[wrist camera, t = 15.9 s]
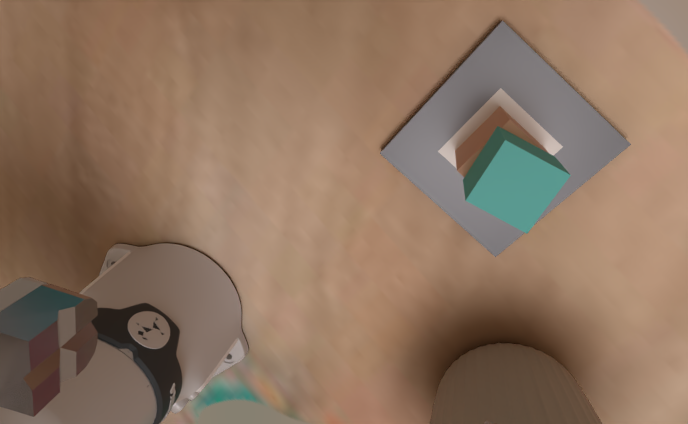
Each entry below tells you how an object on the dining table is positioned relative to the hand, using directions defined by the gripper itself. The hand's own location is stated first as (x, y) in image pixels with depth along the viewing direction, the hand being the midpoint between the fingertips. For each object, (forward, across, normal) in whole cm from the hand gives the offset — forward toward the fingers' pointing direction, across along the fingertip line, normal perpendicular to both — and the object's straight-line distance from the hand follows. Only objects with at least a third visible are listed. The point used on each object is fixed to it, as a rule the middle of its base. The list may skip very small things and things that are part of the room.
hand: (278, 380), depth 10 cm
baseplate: (+34, -8, +1) cm, 35 cm away
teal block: (+27, -8, +1) cm, 28 cm away
